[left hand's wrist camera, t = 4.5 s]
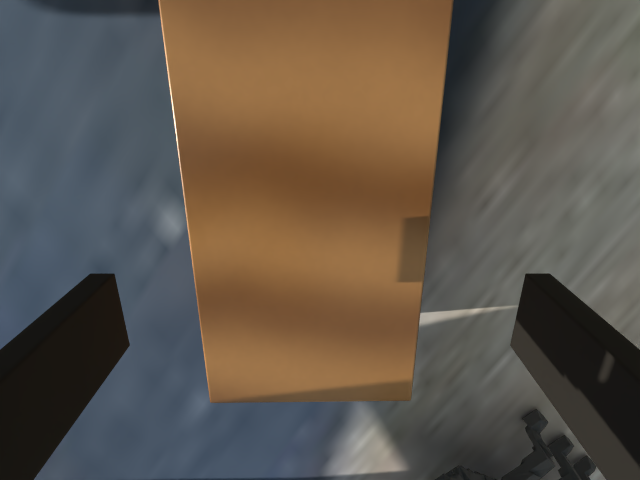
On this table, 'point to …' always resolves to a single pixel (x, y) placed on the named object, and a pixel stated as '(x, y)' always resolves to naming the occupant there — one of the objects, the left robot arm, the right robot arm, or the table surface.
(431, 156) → the wide beam
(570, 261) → the table surface
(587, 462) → the toy
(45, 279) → the table surface
